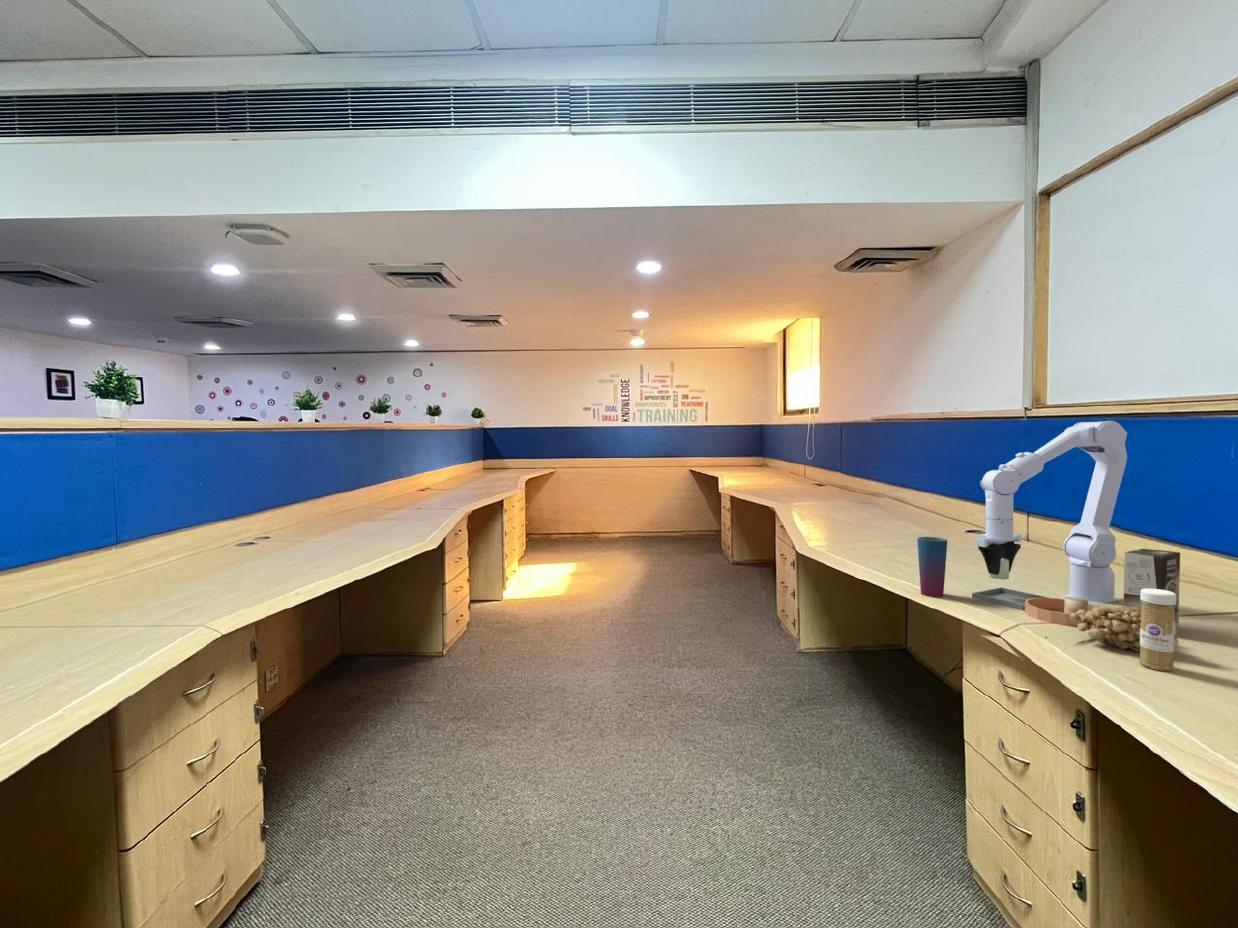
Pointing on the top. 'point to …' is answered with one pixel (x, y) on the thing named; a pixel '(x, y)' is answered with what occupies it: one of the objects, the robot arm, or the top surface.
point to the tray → (1005, 597)
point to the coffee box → (1151, 575)
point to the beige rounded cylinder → (1074, 604)
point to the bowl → (1050, 611)
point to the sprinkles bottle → (1157, 629)
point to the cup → (932, 565)
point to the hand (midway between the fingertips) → (999, 572)
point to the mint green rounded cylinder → (1002, 570)
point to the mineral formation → (1113, 625)
